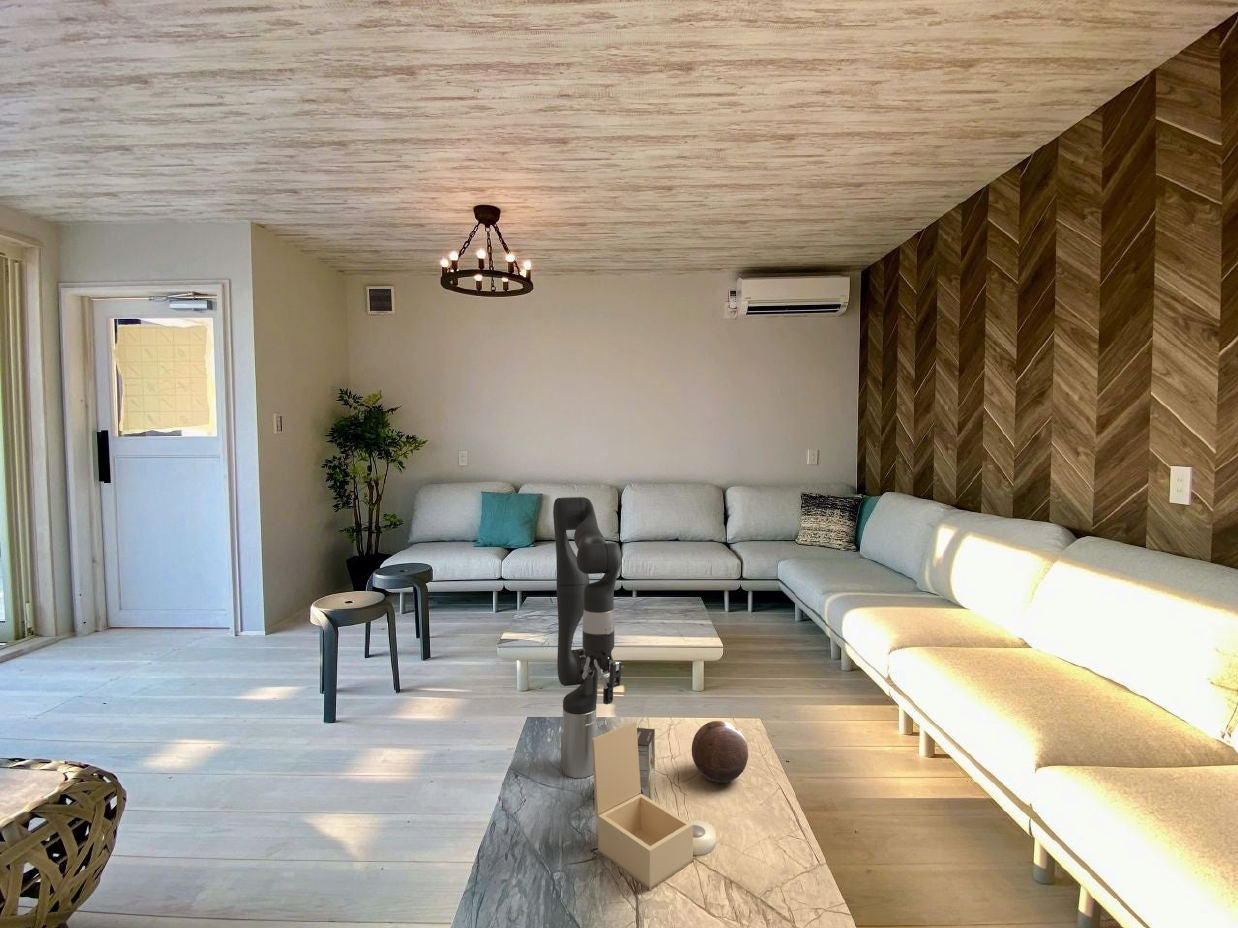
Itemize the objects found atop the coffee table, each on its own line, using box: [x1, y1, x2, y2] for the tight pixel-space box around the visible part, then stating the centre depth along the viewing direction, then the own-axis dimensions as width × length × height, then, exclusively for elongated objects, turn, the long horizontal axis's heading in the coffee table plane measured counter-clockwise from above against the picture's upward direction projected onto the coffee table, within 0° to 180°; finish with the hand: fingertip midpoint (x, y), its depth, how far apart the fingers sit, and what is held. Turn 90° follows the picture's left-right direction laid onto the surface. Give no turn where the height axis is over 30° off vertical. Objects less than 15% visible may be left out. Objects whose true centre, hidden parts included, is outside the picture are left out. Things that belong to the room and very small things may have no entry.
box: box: [597, 794, 694, 891], centre depth 132 cm, size 16×13×8 cm
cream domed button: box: [685, 819, 717, 856], centre depth 137 cm, size 9×9×2 cm
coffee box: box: [624, 727, 656, 802], centre depth 154 cm, size 9×6×16 cm
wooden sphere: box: [691, 720, 749, 784], centre depth 164 cm, size 15×15×15 cm
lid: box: [592, 721, 641, 815], centre depth 138 cm, size 16×13×1 cm
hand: (598, 698), depth 143 cm, fingers open, 6 cm apart
